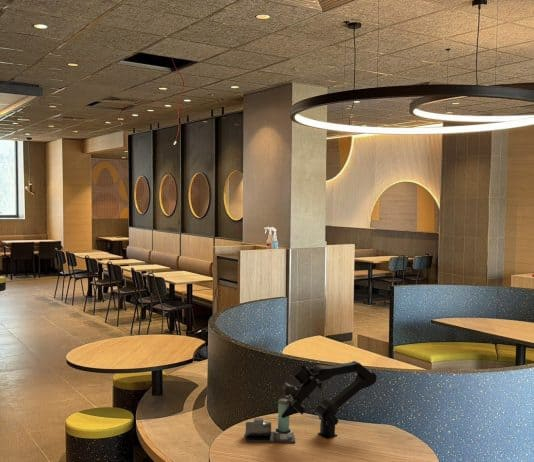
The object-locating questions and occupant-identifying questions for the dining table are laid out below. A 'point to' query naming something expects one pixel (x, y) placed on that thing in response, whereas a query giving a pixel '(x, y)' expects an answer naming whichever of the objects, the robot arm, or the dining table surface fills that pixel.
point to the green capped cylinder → (282, 422)
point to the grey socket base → (266, 433)
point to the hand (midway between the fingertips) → (280, 414)
